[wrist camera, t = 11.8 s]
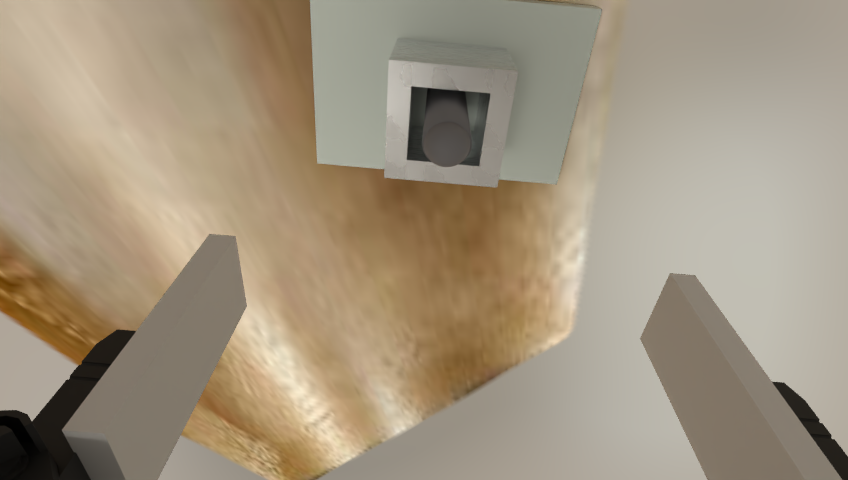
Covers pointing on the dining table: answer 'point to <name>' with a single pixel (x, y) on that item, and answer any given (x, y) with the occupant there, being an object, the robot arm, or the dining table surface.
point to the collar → (449, 71)
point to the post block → (440, 108)
